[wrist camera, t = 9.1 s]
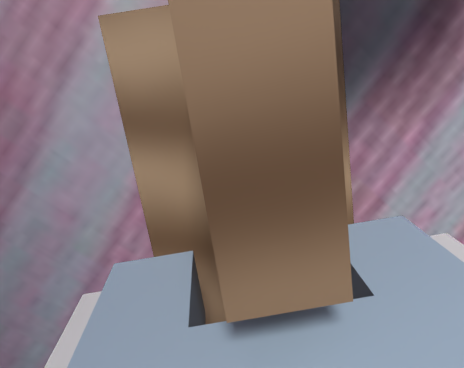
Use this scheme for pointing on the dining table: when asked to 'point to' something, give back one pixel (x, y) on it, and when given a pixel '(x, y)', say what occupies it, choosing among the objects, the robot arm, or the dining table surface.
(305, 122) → the walnut notched stand
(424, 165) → the dining table surface
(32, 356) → the dining table surface
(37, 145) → the dining table surface
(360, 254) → the gray u-shaped block
